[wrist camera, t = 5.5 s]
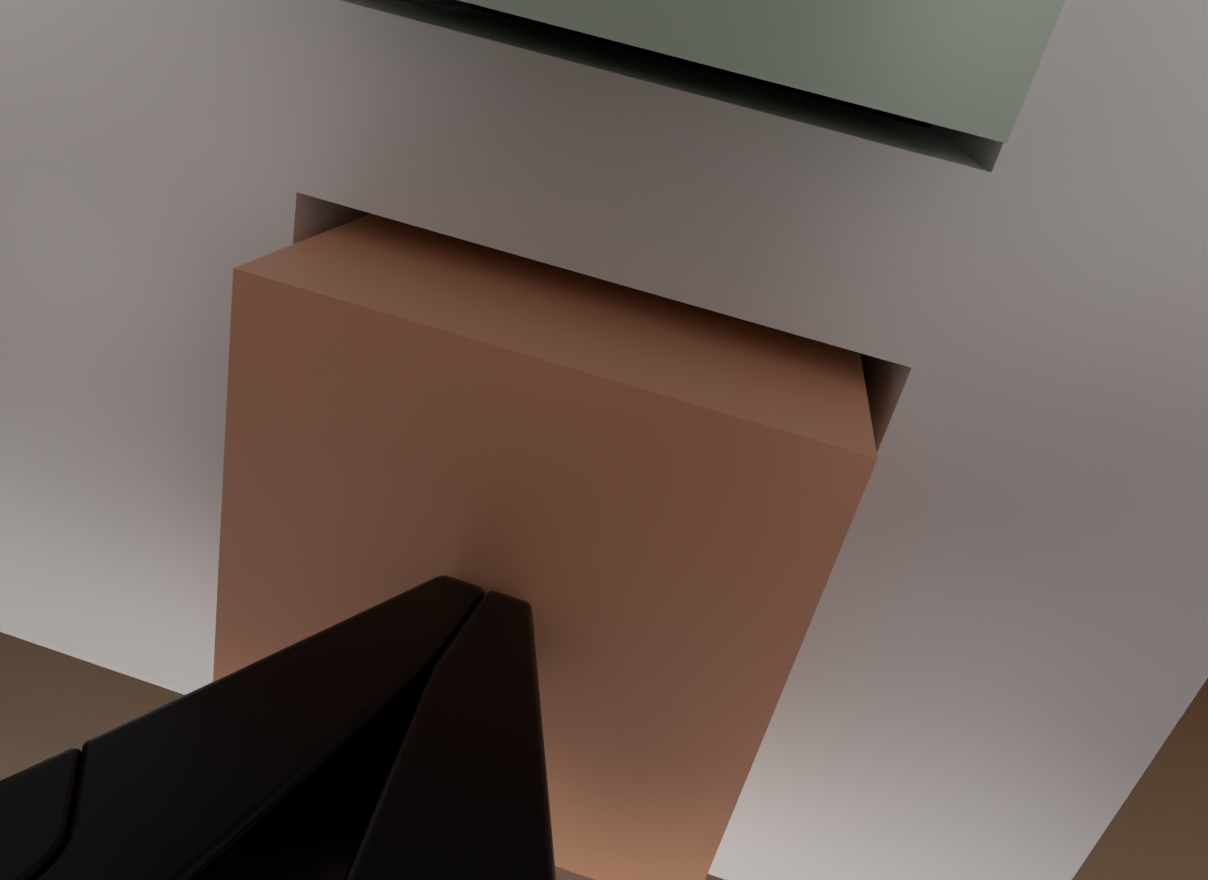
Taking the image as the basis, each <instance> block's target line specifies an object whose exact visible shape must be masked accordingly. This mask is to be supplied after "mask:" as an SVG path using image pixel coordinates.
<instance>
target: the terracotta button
mask: <svg viewBox="0 0 1208 880" xmlns="http://www.w3.org/2000/svg"><path fill="white" fill-rule="evenodd" d="M877 459H878V457H877V451H876V445H875V439H874V433H873V427H872V421H871V415H870V409H869V403H868V397H867V391H866V385H865V379H864V373H863V367H862V361H861V355H860V353H858V352H855V351H851V350H848V349H844V348H841V347H837V346H834V345H830V344H827V343H823V342H820V341H816V340H813V339H809V338H806V337H802V336H799V335H795V334H792V333H788V332H785V331H781V330H778V329H774V328H771V327H767V326H764V325H760V324H757V323H753V322H750V321H746V320H743V319H739V318H736V317H732V316H729V315H725V314H722V313H718V312H715V311H711V310H708V309H704V308H701V307H697V306H694V305H690V304H687V303H683V302H680V301H676V300H673V299H669V298H666V297H662V296H659V295H655V294H652V293H648V292H645V291H641V290H638V289H634V288H631V287H627V286H624V285H620V284H617V283H613V282H610V281H606V280H603V279H599V278H596V277H592V276H589V275H585V274H582V273H578V272H574V271H571V270H567V269H564V268H560V267H557V266H553V265H550V264H546V263H543V262H539V261H536V260H532V259H529V258H525V257H522V256H518V255H515V254H511V253H508V252H504V251H501V250H497V249H494V248H490V247H487V246H483V245H480V244H476V243H473V242H469V241H466V240H462V239H459V238H455V237H452V236H448V235H445V234H441V233H438V232H434V231H431V230H427V229H424V228H420V227H417V226H413V225H410V224H406V223H403V222H399V221H396V220H392V219H389V218H385V217H382V216H378V215H375V214H369V215H366V216H364V217H361V218H359V219H356V220H354V221H351V222H349V223H346V224H344V225H341V226H338V227H336V228H333V229H331V230H328V231H326V232H323V233H321V234H318V235H316V236H313V237H311V238H308V239H306V240H303V241H300V242H298V243H295V244H293V245H290V246H288V247H285V248H283V249H280V250H278V251H275V252H273V253H270V254H268V255H265V256H263V257H260V258H257V259H255V260H252V261H250V262H247V263H245V264H242V265H240V266H237V267H235V268H233V282H232V302H231V322H230V343H229V363H228V383H227V404H226V424H225V444H224V465H223V485H222V505H221V526H220V546H219V566H218V587H217V607H216V627H215V648H214V668H213V682H214V681H216V680H218V679H220V678H222V677H224V676H226V675H228V674H231V673H233V672H235V671H237V670H239V669H241V668H243V667H246V666H248V665H250V664H252V663H254V662H256V661H258V660H260V659H263V658H265V657H267V656H269V655H271V654H273V653H275V652H277V651H280V650H282V649H284V648H286V647H288V646H290V645H292V644H295V643H297V642H299V641H301V640H303V639H305V638H307V637H309V636H312V635H314V634H316V633H318V632H320V631H322V630H324V629H326V628H329V627H331V626H333V625H335V624H337V623H339V622H341V621H343V620H346V619H348V618H350V617H352V616H354V615H356V614H358V613H361V612H363V611H365V610H367V609H369V608H371V607H373V606H375V605H378V604H380V603H382V602H384V601H386V600H388V599H390V598H392V597H395V596H397V595H399V594H401V593H403V592H405V591H407V590H410V589H412V588H414V587H416V586H418V585H420V584H422V583H424V582H427V581H429V580H431V579H433V578H435V577H438V576H442V575H445V576H450V577H453V578H456V579H459V580H462V581H465V582H468V583H472V584H475V585H478V586H480V587H481V588H482V589H483V590H484V594H486V593H487V592H489V591H496V592H500V593H503V594H506V595H509V596H512V597H515V598H518V599H522V600H525V601H527V602H529V604H530V605H531V607H532V612H533V623H534V635H535V646H536V657H537V669H538V680H539V691H540V702H541V714H542V725H543V736H544V748H545V759H546V770H547V782H548V793H549V804H550V815H551V827H552V838H553V849H554V861H555V866H556V867H559V868H562V869H565V870H568V871H571V872H574V873H577V874H580V875H582V876H585V877H588V878H591V879H594V880H705V879H706V877H707V874H708V872H709V869H710V867H711V864H712V862H713V860H714V857H715V855H716V852H717V850H718V847H719V845H720V842H721V840H722V838H723V835H724V833H725V830H726V828H727V825H728V823H729V820H730V818H731V816H732V813H733V811H734V808H735V806H736V803H737V801H738V798H739V796H740V794H741V791H742V789H743V786H744V784H745V781H746V779H747V776H748V774H749V772H750V769H751V767H752V764H753V762H754V759H755V757H756V755H757V752H758V750H759V747H760V745H761V742H762V740H763V737H764V735H765V733H766V730H767V728H768V725H769V723H770V720H771V718H772V715H773V713H774V711H775V708H776V706H777V703H778V701H779V698H780V696H781V693H782V691H783V689H784V686H785V684H786V681H787V679H788V676H789V674H790V671H791V669H792V667H793V664H794V662H795V659H796V657H797V654H798V652H799V649H800V647H801V645H802V642H803V640H804V637H805V635H806V632H807V630H808V628H809V625H810V623H811V620H812V618H813V615H814V613H815V610H816V608H817V606H818V603H819V601H820V598H821V596H822V593H823V591H824V588H825V586H826V584H827V581H828V579H829V576H830V574H831V571H832V569H833V566H834V564H835V562H836V559H837V557H838V554H839V552H840V549H841V547H842V544H843V542H844V540H845V537H846V535H847V532H848V530H849V527H850V525H851V523H852V520H853V518H854V515H855V513H856V510H857V508H858V505H859V503H860V501H861V498H862V496H863V493H864V491H865V488H866V486H867V483H868V481H869V479H870V476H871V474H872V471H873V469H874V466H875V464H876V461H877Z"/></svg>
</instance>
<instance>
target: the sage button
mask: <svg viewBox="0 0 1208 880" xmlns="http://www.w3.org/2000/svg"><path fill="white" fill-rule="evenodd" d="M459 1H463V2H467V3H471V4H475V5H478V6H482V7H486V8H490V9H494V10H498V11H501V12H505V13H509V14H513V15H517V16H521V17H524V18H528V19H532V20H536V21H540V22H544V23H547V24H551V25H555V26H559V27H563V28H567V29H570V30H574V31H578V32H582V33H586V34H590V35H593V36H597V37H601V38H605V39H609V40H613V41H616V42H620V43H624V44H628V45H632V46H636V47H639V48H643V49H647V50H651V51H655V52H658V53H662V54H666V55H670V56H674V57H678V58H681V59H685V60H689V61H693V62H697V63H701V64H704V65H708V66H712V67H716V68H720V69H724V70H727V71H731V72H735V73H739V74H743V75H747V76H750V77H754V78H758V79H762V80H766V81H770V82H773V83H777V84H781V85H785V86H789V87H793V88H796V89H800V90H804V91H808V92H812V93H816V94H819V95H823V96H827V97H831V98H835V99H839V100H842V101H846V102H850V103H854V104H858V105H862V106H865V107H869V108H873V109H877V110H881V111H885V112H888V113H892V114H896V115H900V116H904V117H907V118H911V119H915V120H919V121H923V122H927V123H930V124H934V125H938V126H942V127H946V128H950V129H953V130H957V131H961V132H965V133H969V134H973V135H976V136H980V137H984V138H988V139H992V140H996V141H999V142H1003V143H1007V142H1008V139H1009V137H1010V134H1011V132H1012V129H1013V127H1014V124H1015V122H1016V120H1017V117H1018V115H1019V112H1020V110H1021V107H1022V105H1023V102H1024V100H1025V98H1026V95H1027V93H1028V90H1029V88H1030V85H1031V83H1032V80H1033V78H1034V76H1035V73H1036V71H1037V68H1038V66H1039V63H1040V61H1041V58H1042V56H1043V54H1044V51H1045V49H1046V46H1047V44H1048V41H1049V39H1050V37H1051V34H1052V32H1053V29H1054V27H1055V24H1056V22H1057V19H1058V17H1059V15H1060V12H1061V10H1062V7H1063V5H1064V2H1065V0H459Z"/></svg>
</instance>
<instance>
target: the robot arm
mask: <svg viewBox="0 0 1208 880" xmlns="http://www.w3.org/2000/svg"><path fill="white" fill-rule="evenodd" d="M0 880H556V872H555V861H554V849H553V838H552V827H551V815H550V804H549V793H548V782H547V770H546V759H545V748H544V736H543V725H542V714H541V702H540V691H539V680H538V669H537V657H536V646H535V635H534V623H533V612H532V607H531V605H530V604H529V602H527V601H525V600H522V599H518V598H515V597H512V596H509V595H506V594H503V593H500V592H496V591H489V592H487V593H486V594H484V590H483V589H482V588H481V587H480V586H478V585H475V584H472V583H468V582H465V581H462V580H459V579H456V578H453V577H450V576H445V575H442V576H438V577H435V578H433V579H431V580H429V581H427V582H424V583H422V584H420V585H418V586H416V587H414V588H412V589H410V590H407V591H405V592H403V593H401V594H399V595H397V596H395V597H392V598H390V599H388V600H386V601H384V602H382V603H380V604H378V605H375V606H373V607H371V608H369V609H367V610H365V611H363V612H361V613H358V614H356V615H354V616H352V617H350V618H348V619H346V620H343V621H341V622H339V623H337V624H335V625H333V626H331V627H329V628H326V629H324V630H322V631H320V632H318V633H316V634H314V635H312V636H309V637H307V638H305V639H303V640H301V641H299V642H297V643H295V644H292V645H290V646H288V647H286V648H284V649H282V650H280V651H277V652H275V653H273V654H271V655H269V656H267V657H265V658H263V659H260V660H258V661H256V662H254V663H252V664H250V665H248V666H246V667H243V668H241V669H239V670H237V671H235V672H233V673H231V674H228V675H226V676H224V677H222V678H220V679H218V680H216V681H214V682H211V683H209V684H207V685H205V686H203V687H201V688H199V689H197V690H194V691H192V692H190V693H188V694H186V695H184V696H182V697H179V698H177V699H175V700H173V701H171V702H169V703H167V704H165V705H162V706H160V707H158V708H156V709H154V710H152V711H150V712H148V713H145V714H143V715H141V716H139V717H137V718H135V719H133V720H131V721H128V722H126V723H124V724H122V725H120V726H118V727H116V728H113V729H111V730H109V731H107V732H105V733H103V734H101V735H99V736H96V737H94V738H92V739H90V740H88V741H86V742H85V743H84V745H83V747H82V752H81V751H80V749H78V748H70V749H68V750H66V751H64V752H61V753H59V754H57V755H55V756H53V757H51V758H49V759H47V760H44V761H42V762H40V763H38V764H36V765H34V766H32V767H29V768H27V769H25V770H23V771H21V772H19V773H17V774H14V775H12V776H10V777H8V778H5V779H3V780H1V781H0Z"/></svg>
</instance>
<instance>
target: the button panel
mask: <svg viewBox="0 0 1208 880" xmlns="http://www.w3.org/2000/svg"><path fill="white" fill-rule="evenodd" d="M470 4H471V3H467V2H463V1H459V0H0V632H2V633H5V634H8V635H11V636H14V637H17V638H20V639H23V640H26V641H29V642H32V643H35V644H37V645H40V646H43V647H46V648H49V649H52V650H55V651H58V652H61V653H64V654H67V655H70V656H73V657H75V658H78V659H81V660H84V661H87V662H90V663H93V664H96V665H99V666H102V667H105V668H108V669H111V670H114V671H116V672H119V673H122V674H125V675H128V676H131V677H134V678H137V679H140V680H143V681H146V682H149V683H152V684H154V685H157V686H160V687H163V688H166V689H169V690H172V691H175V692H178V693H181V694H184V695H186V694H188V693H190V692H192V691H194V690H197V689H199V688H201V687H203V686H205V685H207V684H209V683H211V682H213V668H214V648H215V627H216V607H217V587H218V566H219V546H220V526H221V505H222V485H223V465H224V444H225V424H226V404H227V383H228V363H229V343H230V322H231V302H232V282H233V268H235V267H237V266H240V265H242V264H245V263H247V262H250V261H252V260H255V259H257V258H260V257H263V256H265V255H268V254H270V253H273V252H275V251H278V250H280V249H283V248H285V247H288V246H290V245H293V244H295V243H298V242H300V241H303V240H306V239H308V238H311V237H313V236H316V235H318V234H321V233H323V232H326V231H328V230H331V229H333V228H336V227H338V226H341V225H344V224H346V223H349V222H351V221H354V220H356V219H359V218H361V217H364V216H366V215H369V214H375V215H378V216H382V217H385V218H389V219H392V220H396V221H399V222H403V223H406V224H410V225H413V226H417V227H420V228H424V229H427V230H431V231H434V232H438V233H441V234H445V235H448V236H452V237H455V238H459V239H462V240H466V241H469V242H473V243H476V244H480V245H483V246H487V247H490V248H494V249H497V250H501V251H504V252H508V253H511V254H515V255H518V256H522V257H525V258H529V259H532V260H536V261H539V262H543V263H546V264H550V265H553V266H557V267H560V268H564V269H567V270H571V271H574V272H578V273H582V274H585V275H589V276H592V277H596V278H599V279H603V280H606V281H610V282H613V283H617V284H620V285H624V286H627V287H631V288H634V289H638V290H641V291H645V292H648V293H652V294H655V295H659V296H662V297H666V298H669V299H673V300H676V301H680V302H683V303H687V304H690V305H694V306H697V307H701V308H704V309H708V310H711V311H715V312H718V313H722V314H725V315H729V316H732V317H736V318H739V319H743V320H746V321H750V322H753V323H757V324H760V325H764V326H767V327H771V328H774V329H778V330H781V331H785V332H788V333H792V334H795V335H799V336H802V337H806V338H809V339H813V340H816V341H820V342H823V343H827V344H830V345H834V346H837V347H841V348H844V349H848V350H851V351H855V352H858V353H860V355H861V361H862V367H863V373H864V379H865V385H866V391H867V397H868V403H869V409H870V415H871V421H872V427H873V433H874V439H875V445H876V451H877V457H878V459H877V461H876V464H875V466H874V469H873V471H872V474H871V476H870V479H869V481H868V483H867V486H866V488H865V491H864V493H863V496H862V498H861V501H860V503H859V505H858V508H857V510H856V513H855V515H854V518H853V520H852V523H851V525H850V527H849V530H848V532H847V535H846V537H845V540H844V542H843V544H842V547H841V549H840V552H839V554H838V557H837V559H836V562H835V564H834V566H833V569H832V571H831V574H830V576H829V579H828V581H827V584H826V586H825V588H824V591H823V593H822V596H821V598H820V601H819V603H818V606H817V608H816V610H815V613H814V615H813V618H812V620H811V623H810V625H809V628H808V630H807V632H806V635H805V637H804V640H803V642H802V645H801V647H800V649H799V652H798V654H797V657H796V659H795V662H794V664H793V667H792V669H791V671H790V674H789V676H788V679H787V681H786V684H785V686H784V689H783V691H782V693H781V696H780V698H779V701H778V703H777V706H776V708H775V711H774V713H773V715H772V718H771V720H770V723H769V725H768V728H767V730H766V733H765V735H764V737H763V740H762V742H761V745H760V747H759V750H758V752H757V755H756V757H755V759H754V762H753V764H752V767H751V769H750V772H749V774H748V776H747V779H746V781H745V784H744V786H743V789H742V791H741V794H740V796H739V798H738V801H737V803H736V806H735V808H734V811H733V813H732V816H731V818H730V820H729V823H728V825H727V828H726V830H725V833H724V835H723V838H722V840H721V842H720V845H719V847H718V850H717V852H716V855H715V857H714V860H713V862H712V864H711V867H710V869H709V872H708V874H710V875H713V876H716V877H719V878H722V879H725V880H1072V879H1073V877H1074V876H1075V874H1076V873H1077V871H1078V870H1079V868H1080V867H1081V865H1082V864H1083V862H1084V861H1085V859H1086V858H1087V856H1088V855H1089V853H1090V852H1091V851H1092V849H1093V848H1094V846H1095V845H1096V843H1097V842H1098V840H1099V839H1100V837H1101V836H1102V834H1103V833H1104V831H1105V830H1106V828H1107V827H1108V825H1109V824H1110V822H1111V821H1112V819H1113V818H1114V816H1115V815H1116V813H1117V812H1118V810H1119V809H1120V807H1121V806H1122V804H1123V803H1124V801H1125V800H1126V798H1127V797H1128V795H1129V794H1130V793H1131V791H1132V790H1133V788H1134V787H1135V785H1136V784H1137V782H1138V781H1139V779H1140V778H1141V776H1142V775H1143V773H1144V772H1145V770H1146V769H1147V767H1148V766H1149V764H1150V763H1151V761H1152V760H1153V758H1154V757H1155V755H1156V754H1157V752H1158V751H1159V749H1160V748H1161V746H1162V745H1163V743H1164V742H1165V740H1166V739H1167V737H1168V736H1169V735H1170V733H1171V732H1172V730H1173V729H1174V727H1175V726H1176V724H1177V723H1178V721H1179V720H1180V718H1181V717H1182V715H1183V714H1184V712H1185V711H1186V709H1187V708H1188V706H1189V705H1190V703H1191V702H1192V700H1193V699H1194V697H1195V696H1196V694H1197V693H1198V691H1199V690H1200V688H1201V687H1202V685H1203V684H1204V682H1205V681H1206V680H1207V678H1208V0H1065V2H1064V5H1063V7H1062V10H1061V12H1060V15H1059V17H1058V19H1057V22H1056V24H1055V27H1054V29H1053V32H1052V34H1051V37H1050V39H1049V41H1048V44H1047V46H1046V49H1045V51H1044V54H1043V56H1042V58H1041V61H1040V63H1039V66H1038V68H1037V71H1036V73H1035V76H1034V78H1033V80H1032V83H1031V85H1030V88H1029V90H1028V93H1027V95H1026V98H1025V100H1024V102H1023V105H1022V107H1021V110H1020V112H1019V115H1018V117H1017V120H1016V122H1015V124H1014V127H1013V129H1012V132H1011V134H1010V137H1009V139H1008V142H1007V143H1003V142H999V141H996V140H992V139H988V138H984V137H980V136H976V135H973V134H969V133H965V132H961V131H957V130H953V129H950V128H946V127H942V126H938V125H934V124H932V126H931V128H930V129H929V128H925V127H922V126H918V125H914V124H910V123H906V122H902V121H899V120H895V119H891V118H887V117H883V116H879V115H876V114H872V113H868V112H864V111H860V110H857V109H853V108H849V107H845V106H841V105H837V104H834V103H830V102H826V101H822V100H818V99H814V98H811V97H807V96H803V95H799V94H795V93H792V92H788V91H784V90H780V89H776V88H772V87H769V86H765V85H761V84H757V83H753V82H749V81H746V80H742V79H738V78H734V77H730V76H727V75H723V74H719V73H715V72H711V71H707V70H704V69H700V68H696V67H692V66H688V65H685V64H681V63H677V62H673V61H669V60H665V59H662V58H658V57H654V56H650V55H646V54H642V53H639V52H635V51H631V50H627V49H623V48H620V47H616V46H612V45H608V44H604V43H600V42H597V41H593V40H589V39H585V38H581V37H577V36H574V35H570V34H566V33H562V32H558V31H555V30H551V29H547V28H543V27H539V26H535V25H532V24H528V23H524V22H520V21H516V20H512V19H509V18H505V17H501V16H497V15H493V14H490V13H486V12H482V11H478V10H474V9H470Z"/></svg>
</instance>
